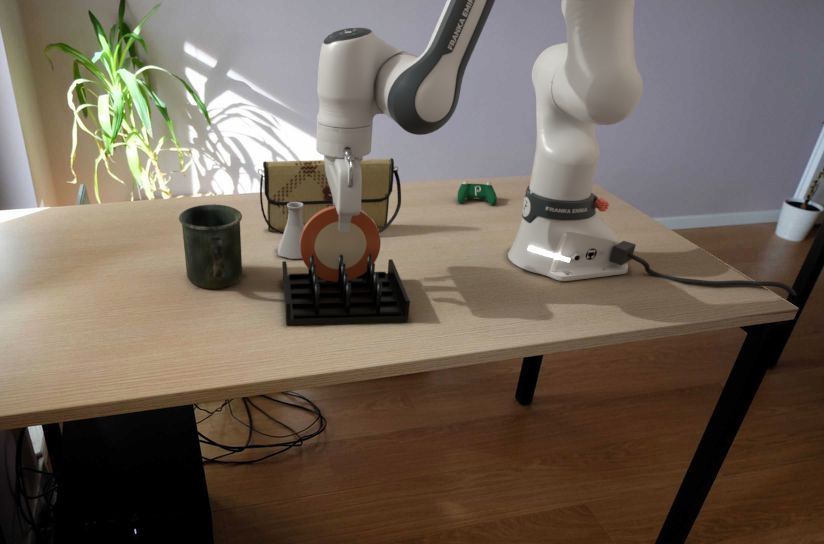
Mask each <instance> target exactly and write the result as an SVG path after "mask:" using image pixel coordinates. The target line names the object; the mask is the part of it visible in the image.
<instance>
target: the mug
mask: <svg viewBox="0 0 824 544" xmlns="http://www.w3.org/2000/svg"><path fill="white" fill-rule="evenodd" d="M242 219H243V215H242V212H241V211H239V209H238V208H234V207H233V206H229V205H225V204H201V205H200V204H199V205H196V206H192V207H189V208H187V209H184V210H183V211H182V212H181V213H180V214H179V216H178V221H179V223H180V224H181V227H182V238H183V239H182V240H183V251H184V260H185V261H184V262H185V270H186V278H187V280H188V281H189V282H190V283H191V285H194V286H196V287H198V288H202V289H207V290H209V289H210V290H216V289H217V290H219V289H223V288H228V287H231V286H233V285H235V284H237V283H239V281H240V279H241V278H242V277H243V259H242V237H241V221H242Z"/></svg>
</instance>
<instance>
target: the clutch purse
mask: <svg viewBox="0 0 824 544" xmlns="http://www.w3.org/2000/svg"><path fill="white" fill-rule="evenodd" d="M359 165H360V167H361V176H362V190H361V210H362V211H364V212H365V213H367V214H368V215H369V216H370V217H371V218H372V219H373V221H374V223H375V224H376V226H377V227H381V228H380V229H378V231H379V234H381V233H382V232H384V231H385V230H387V228H388V227H389V226H390V225H392V223H393V221H394V220H395V219H396V218H397V216H398V214H399V212H400V210H401V205H402V186H401V180H400V176H399V167H398V166H395V161H394V158H392V157H391V158H363V162H362V163H361V164H359ZM262 167H263V169H262V168H259V169H257V173H258V175H259V176H260V183H259V201H260V208H261V209H260V210H261V213H262V216H263V219H264V221H265V223H266V225H267V231H268V232H270V231H274V232H276V233H279V234H280V235H283V233H284V230H285V228H286V225H287V220H288V215H289V209H288V207H287V204H288V203H290V202H300V203H303V208H302V219H303V224H304V226H305V225H306V223H307V222H308V221H309V219H310V218H311V217H312V216H313V215H315V214H316V213H317V212H319V211H321V210H323V209H325V208H327V207H330V206H333V197H332V193H331V190H330V187H329V183H328V180H327V177H326V172H325V162H324V159H322V160H321V159H320V160H319V159H317V160H282V161H277V160H276V161H266V160H265V161H262ZM396 168H397V169H396ZM259 171H261V173H260V172H259ZM394 178H395V181H396V182H395V183H396V191H397V204H396V208H395V210H394V213H393V215H392V217H391V218H390V219H389V220H388V218H389V217H388V216H389V205H390V196H391V195H392V192H393V188H394V187H393V186H394ZM263 181H264V196H265V198H266V213H265V209H264V202H263Z"/></svg>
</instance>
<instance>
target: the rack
mask: <svg viewBox="0 0 824 544" xmlns="http://www.w3.org/2000/svg"><path fill="white" fill-rule="evenodd" d="M371 260H372V255H371V254H368V259H367V272H365V273H364V274H363V275H361V276H359V277H357V278H355V279H352V280H349V281H348V273H345V267H346V265H345V264H344V263H343V255H342V254H341V255H339V271H338V282H333V281H328V280H324V279H322V278H320V277H318V275H317V274H316V265H315V264H314V255H311V256H310V270H309V269H308V268H307V270H308V271H307V272H300V273H299V272H298V273H296V272H295V273H289V274H288V265H287V261H285V260H284V261H283V260H282V261H281V263H282V264H281V265H282V269H281V270H282V271H281V273H282V290H283V291H282V292H283V301H284V303H283V305H284V313H285V314H284V316H285V324H286V325H285V326H287V327H289V326H290V327H291V326H293V327H294V326H323V325H324V326H325V325H326V326H327V325H358V324H360V325H361V324H362V325H363V324H396V323H397V324H398V323H409V317H410V306H411V300H410V298H409V295H408V293H407V291H406V288H405V285H404V284H403V281H402V278H401V277H400V273H399V272H398V269H397V266H396V265H395V262H394V260H393V259H390V258H389V259H388V261H387V262H388V263H387V264H388V265H387V272H386V271H375V270H376V269H375V268H376V263H375V262H374V263H371Z"/></svg>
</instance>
